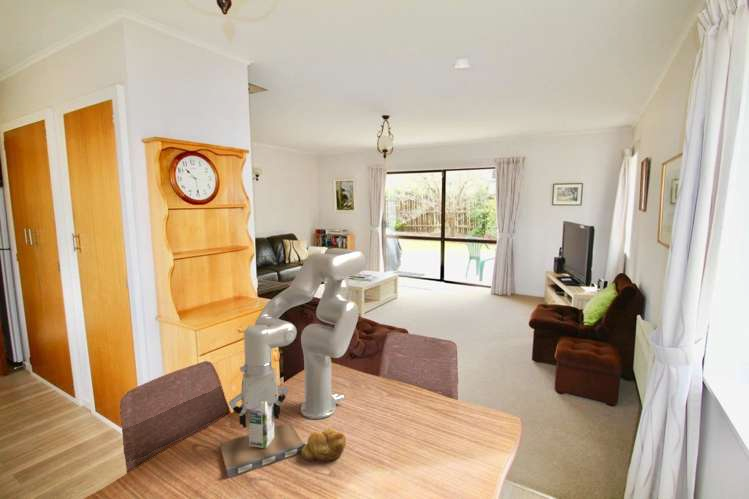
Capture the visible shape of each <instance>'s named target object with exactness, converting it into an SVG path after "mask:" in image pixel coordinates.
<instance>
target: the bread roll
mask: <svg viewBox="0 0 749 499" xmlns="http://www.w3.org/2000/svg"><path fill="white" fill-rule="evenodd" d="M346 443H347V441H346V436H345V434H344V433H343V432H340V431H338V430H336V429H332V428H326V429H325V430H323V431H322V432H321V431H319V430H317V431H314V432H312V433H311V434H310V435H309V436H308V439H307V443H306V444H305V446H304V447H303V448H302V451H301V452H302V454H301V455H302V457H303V459H306V460H308V461H311V462H312V461H313V462H314V461H317V460H318V461H321V462H331V461H333V460H337V459H339V458H340V457H341V455H342V454H343V453H344V450H345V447H346Z"/></svg>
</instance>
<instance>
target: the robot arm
mask: <svg viewBox="0 0 749 499" xmlns="http://www.w3.org/2000/svg"><path fill="white" fill-rule="evenodd" d="M365 266H366V257H365V255H364V252H362V251H360V250H357V249H349V248H341V247H340V248H339V247H338V248H337V247H334V248H328V249H327V250H325V252H324V253H319V252H317V253H316V252H315V253H311V254H310V255H309V256H308V257H307V258H306V259H305V261H304V263H303V264H302V266H301V267H300V268H299V271H298V272H297V274H296V276H295V277H294V279H293V281H292V282H291V284H290V285H289V286H288V287H287V288H286V289H284V290H282V291H281V292H280V293H278V294H277V295H276V296H274V297H273V298H272V299H270V300H269V301H268V302H267V303H266V304H265V306H264V307H263V308H262V310H261V311H260V314H259V315H258V317H257V318H256V320H255V323H254V325H251V326H248V327H247V328H245V330H244V333H243V337H244V338H243V339H244V340H243V341H244V342H243V343H244V344H243V345H244V364H243V366H240V367H239V371H240V372H243V374H242V377H241V378H242V379H241V380H242V381H241V387H240V388H241V391H240V393H239V394H237V395H236V396H235V397H233V398H232V399H230V400H229V401H228V405H229V406H230V408H231V409H232V410H233V412H234V413H236V414H238V415H239V419H238V420H239V425H242V427H243V429H245V428H247V415H246V412H247V411H248V410H249V409H254V408H258V407H260V405H261V403H262V402H265V401H267V405H269V404H273V403H274V419H276V420H279V417H280V414H281V405H282V403H283V402H284V400H285V399H286V396H287V395H288V392H289V389H288V387H286V386H282V385H278V380H277V375H276V374H277V373H276V371H275V369H274V368H273V366H272V362H273V361H272V349H275V348H280V347H281V348H282V347H285V346H289V345H290V344H291V343H293V342H294V340H295V339H296V338H297V332H298V331H297V327H296V325H294V324H293V323H292V322H290V321H286V320H284V319H283V320H282V319H280V317H281V316H282V315H283V314H284V313H285V312H286V311H288V310H289V309H292V308H293V307H297V306H300V305H304V304H307V303H309V302H311V301H312V300H313V298H314V297H315V295H316V294H317V291H318V290H319V288H320V286H321V284H322V282H324V280H326V285H325V287H324V290H323V292H322V295H321V297H320V299H319V302H318V305H317V307H316V312H315V313H316V314H315V316H316V318H318V320H320V321H322V322H324V323H326V324H331V325H334V327H331V326H328V325H323V324H321V323H310V324H308V325H307V326H305V327H304V329H302V332H301V335H300V342H301V343H300V344H301V348H302V353H303V361H304V362H303V363H304V365H303V366H304V402H303V403H302V405H301V406H300V412H301V415H302V416H303V417H305V418H307V419H312V420H320V419H321V420H322V419H325V418H328V417H330V416H332V415H333V414H334V413H335V412H336V409H337V405H336V404H337V403H338V402H341V401H344V400H345V395H344V394H340V395H339V394H338V392H336V393H334V394H333V392H332V389H333V388H332V359H331V358H334V359H338V358H341V357H343V355H344V354H345V353H346V352H347V350H348V348H349V346H350V342H351V340H352V337H353V334H354V332H355V330H356V326H357V323H358V320H359V316H360V312H359V311H360V310H359V307H358V304H357V303H356V302H355V301H353V300H350V299H347V296H348V293H349V290H350V283H349V279H348V278H350V277H353V276H355V275H359V273H361V272H362V271H363V270H364V268H365ZM279 392H281V393H280V395H279ZM240 401H241V404H240V406H239V405H237V403H239V402H240Z"/></svg>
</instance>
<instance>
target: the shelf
mask: <svg viewBox="0 0 749 499" xmlns="http://www.w3.org/2000/svg"><path fill="white" fill-rule="evenodd" d="M305 445H306V444H305V442H304V443H303V441H302V439H301V438H300V436H299V434H298V433H297V431H296V429H295V428H294V426H293V425H292V423H291V422H290V421H289V422H286V423H283V424H279V425H277V426H276V425H275V426H274V439H273V440H272V441H271V443H270V444H269V445H268V447H267V448H266V449H265V448H259V447H253V446H251V447H250V446H249V433H248V434H246V435H245V434H244V435H242V436H238V437H235V438H231V439H228V440H224V441H221V442H219V449H220V454H221V456H222V459H223V460H222V462H223V464H224V468H225V472H226V475H227V479H230V478H233V477H236V476H239V475H242V474H246V473H247V472H251V471H252V472H253V471H254V470H257V469H260V468H264V467H267V466H269V465H272V464H275V463H277V462H280V461H284V460H286V459H289V458H294V457H296V456H299V455H302V452H301V451H302V448H303V447H304V446H305Z"/></svg>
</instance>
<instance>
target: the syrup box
mask: <svg viewBox="0 0 749 499" xmlns="http://www.w3.org/2000/svg"><path fill="white" fill-rule="evenodd" d="M247 415H248V434H249V446H250V447H251V446H253V447H259V448H265V449H266V448H267V447H268V445H269V444H270V443H271V441H272V440H273V439H274V427H275V416H274V403H273V404H269V405H267V401H265V402H262V403H261V405H260V407H258V408H254V409H249V410H247Z"/></svg>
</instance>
